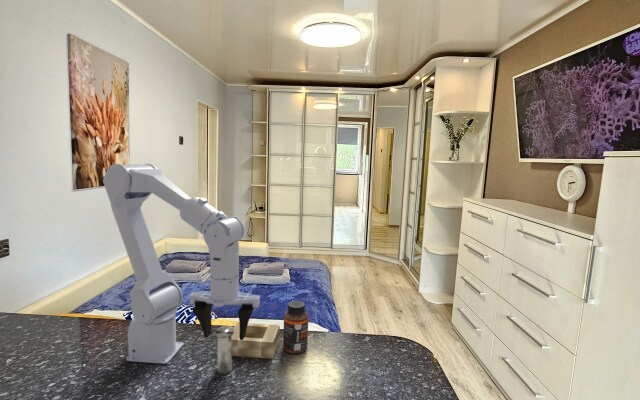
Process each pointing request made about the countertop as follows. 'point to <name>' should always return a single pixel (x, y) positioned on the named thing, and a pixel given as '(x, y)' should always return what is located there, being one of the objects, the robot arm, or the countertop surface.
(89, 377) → the countertop surface
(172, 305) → the robot arm
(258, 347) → the hole block
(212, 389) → the countertop surface
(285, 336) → the supplement bottle
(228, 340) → the pin
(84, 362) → the countertop surface
